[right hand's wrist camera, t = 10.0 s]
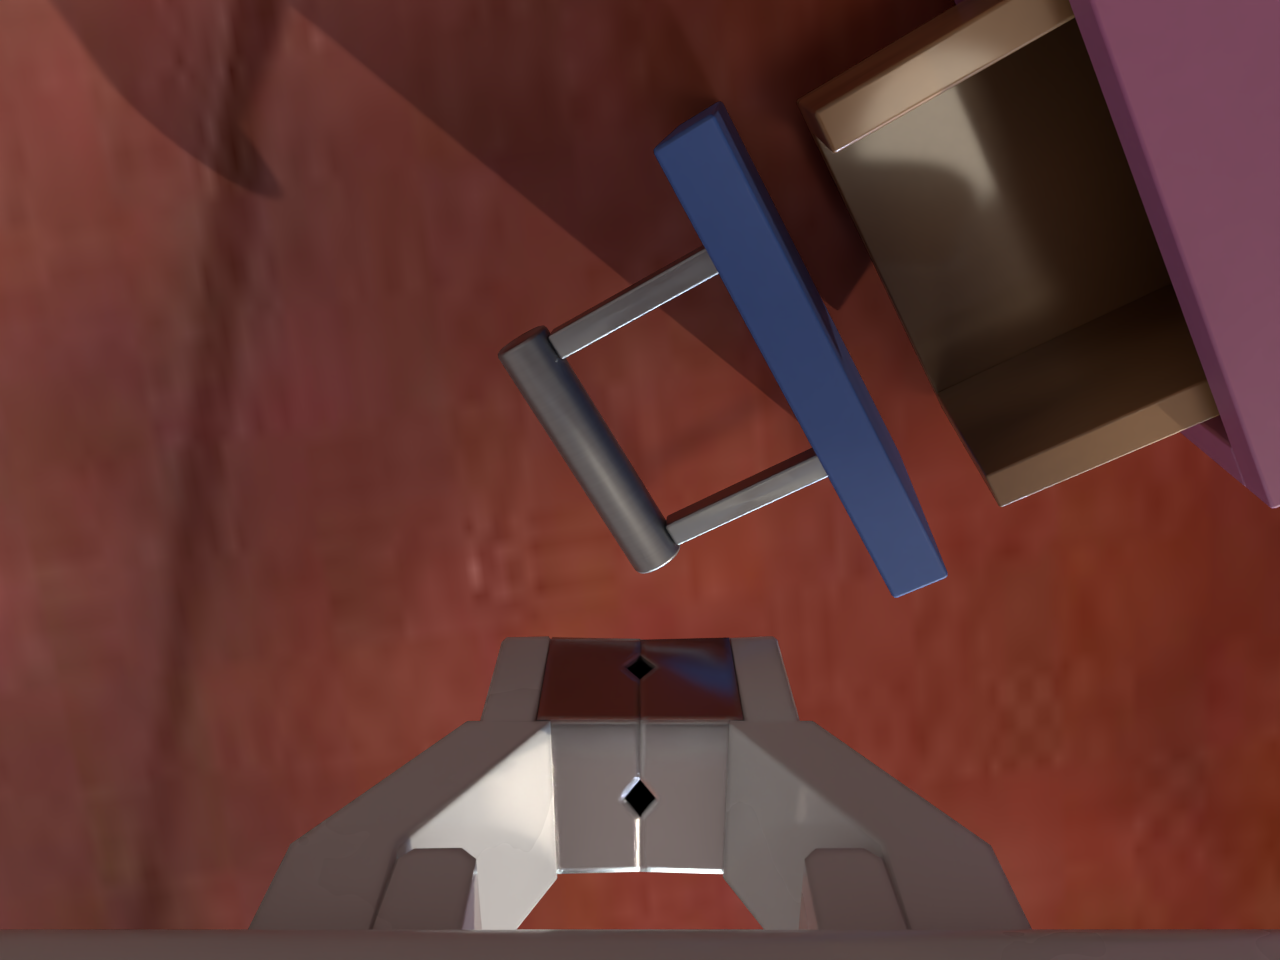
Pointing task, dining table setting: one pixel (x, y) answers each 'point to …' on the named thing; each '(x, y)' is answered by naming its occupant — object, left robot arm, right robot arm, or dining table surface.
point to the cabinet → (1208, 193)
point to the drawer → (917, 287)
